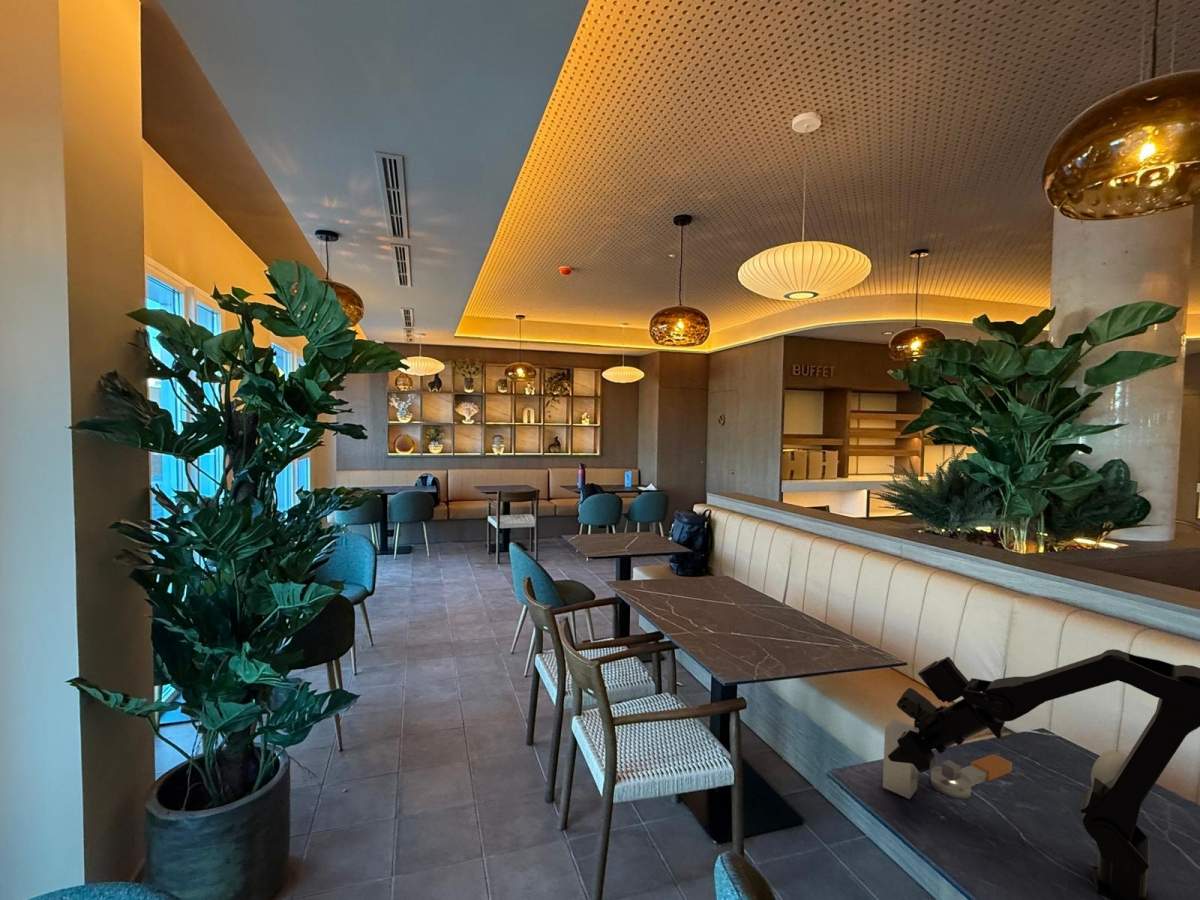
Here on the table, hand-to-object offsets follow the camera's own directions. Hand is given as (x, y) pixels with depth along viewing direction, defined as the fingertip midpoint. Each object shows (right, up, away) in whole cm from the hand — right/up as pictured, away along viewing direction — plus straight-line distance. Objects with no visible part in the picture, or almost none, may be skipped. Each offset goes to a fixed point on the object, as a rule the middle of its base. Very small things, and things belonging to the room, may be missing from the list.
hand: (893, 753), depth 113 cm
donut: (+44, -9, -2) cm, 45 cm away
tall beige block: (+1, -7, -1) cm, 7 cm away
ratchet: (+19, -8, +4) cm, 21 cm away
